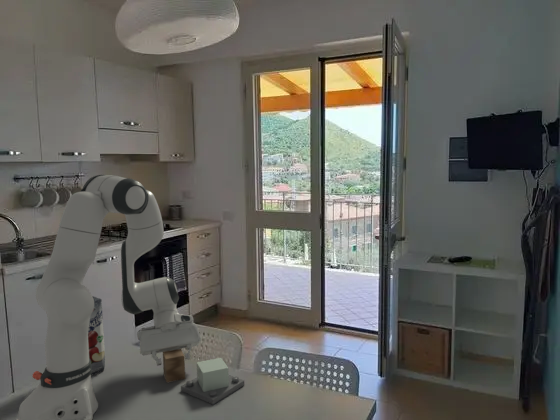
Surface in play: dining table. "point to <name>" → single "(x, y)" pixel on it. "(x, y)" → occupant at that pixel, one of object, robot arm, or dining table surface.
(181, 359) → the walnut brick
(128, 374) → the dining table surface
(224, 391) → the baseplate
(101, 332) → the juice carton
